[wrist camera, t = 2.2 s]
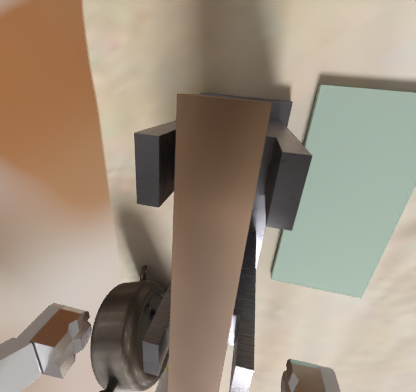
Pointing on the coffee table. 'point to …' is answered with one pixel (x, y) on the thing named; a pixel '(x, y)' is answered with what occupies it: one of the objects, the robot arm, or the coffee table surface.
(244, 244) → the rail
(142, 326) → the alarm clock
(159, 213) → the coffee table surface
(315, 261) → the mat
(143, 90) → the coffee table surface
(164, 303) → the hook stand
